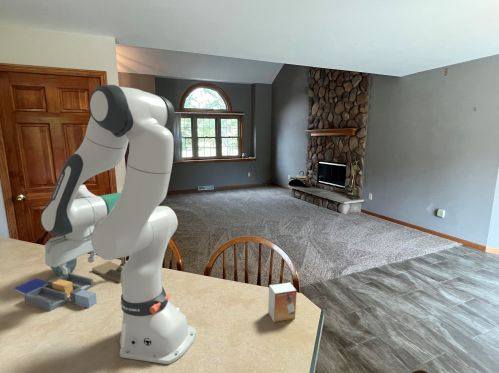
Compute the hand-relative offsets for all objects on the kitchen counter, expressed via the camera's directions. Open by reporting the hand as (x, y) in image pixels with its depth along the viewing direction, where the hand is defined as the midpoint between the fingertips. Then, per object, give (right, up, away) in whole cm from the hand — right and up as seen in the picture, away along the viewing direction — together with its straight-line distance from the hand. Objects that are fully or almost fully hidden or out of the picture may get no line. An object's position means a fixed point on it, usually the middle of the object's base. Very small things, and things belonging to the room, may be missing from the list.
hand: (79, 267), depth 95 cm
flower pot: (-22, -10, +24) cm, 34 cm away
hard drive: (-25, -12, +11) cm, 30 cm away
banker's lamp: (0, -10, +24) cm, 26 cm away
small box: (+71, -16, -3) cm, 73 cm away
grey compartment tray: (-12, -13, +8) cm, 19 cm away
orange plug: (-12, -12, +7) cm, 18 cm away
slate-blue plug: (0, -14, +2) cm, 14 cm away
